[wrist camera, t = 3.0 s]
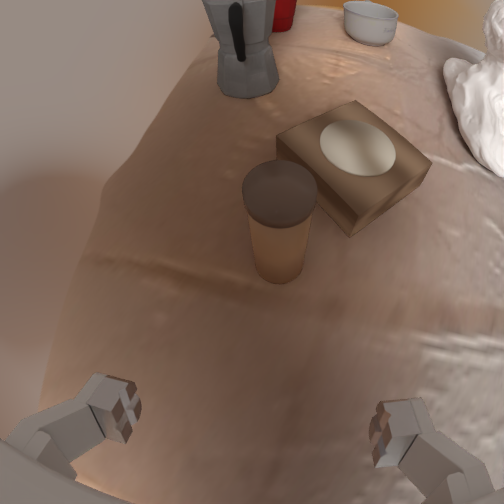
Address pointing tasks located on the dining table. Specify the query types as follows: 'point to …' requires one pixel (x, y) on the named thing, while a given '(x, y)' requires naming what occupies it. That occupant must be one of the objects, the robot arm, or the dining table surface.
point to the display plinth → (354, 163)
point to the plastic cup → (283, 15)
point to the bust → (482, 94)
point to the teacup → (369, 22)
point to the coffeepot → (244, 46)
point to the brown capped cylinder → (279, 217)
